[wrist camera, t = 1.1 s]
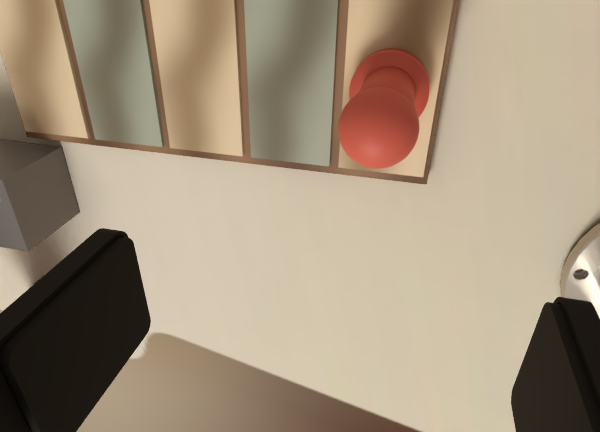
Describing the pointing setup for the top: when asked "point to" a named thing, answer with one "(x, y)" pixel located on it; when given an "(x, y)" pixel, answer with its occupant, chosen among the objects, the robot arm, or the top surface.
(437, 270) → the top surface
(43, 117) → the board
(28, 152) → the die
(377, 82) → the pawn
